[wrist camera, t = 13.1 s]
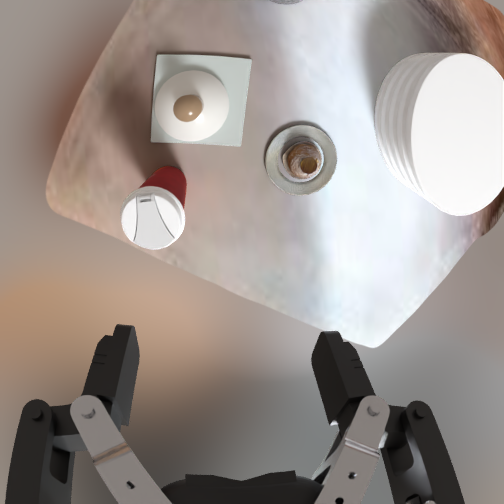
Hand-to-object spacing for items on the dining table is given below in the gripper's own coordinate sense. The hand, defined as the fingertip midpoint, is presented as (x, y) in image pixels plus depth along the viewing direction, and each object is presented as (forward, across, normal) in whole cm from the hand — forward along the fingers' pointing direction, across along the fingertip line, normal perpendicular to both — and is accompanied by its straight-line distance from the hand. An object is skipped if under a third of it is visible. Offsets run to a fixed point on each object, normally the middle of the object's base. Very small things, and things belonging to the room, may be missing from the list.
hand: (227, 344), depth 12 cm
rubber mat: (+38, +4, -8) cm, 39 cm away
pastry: (+39, -13, 0) cm, 41 cm away
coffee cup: (+38, +8, +6) cm, 40 cm away
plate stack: (+38, -38, -12) cm, 56 cm away
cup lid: (+38, +5, -7) cm, 38 cm away
